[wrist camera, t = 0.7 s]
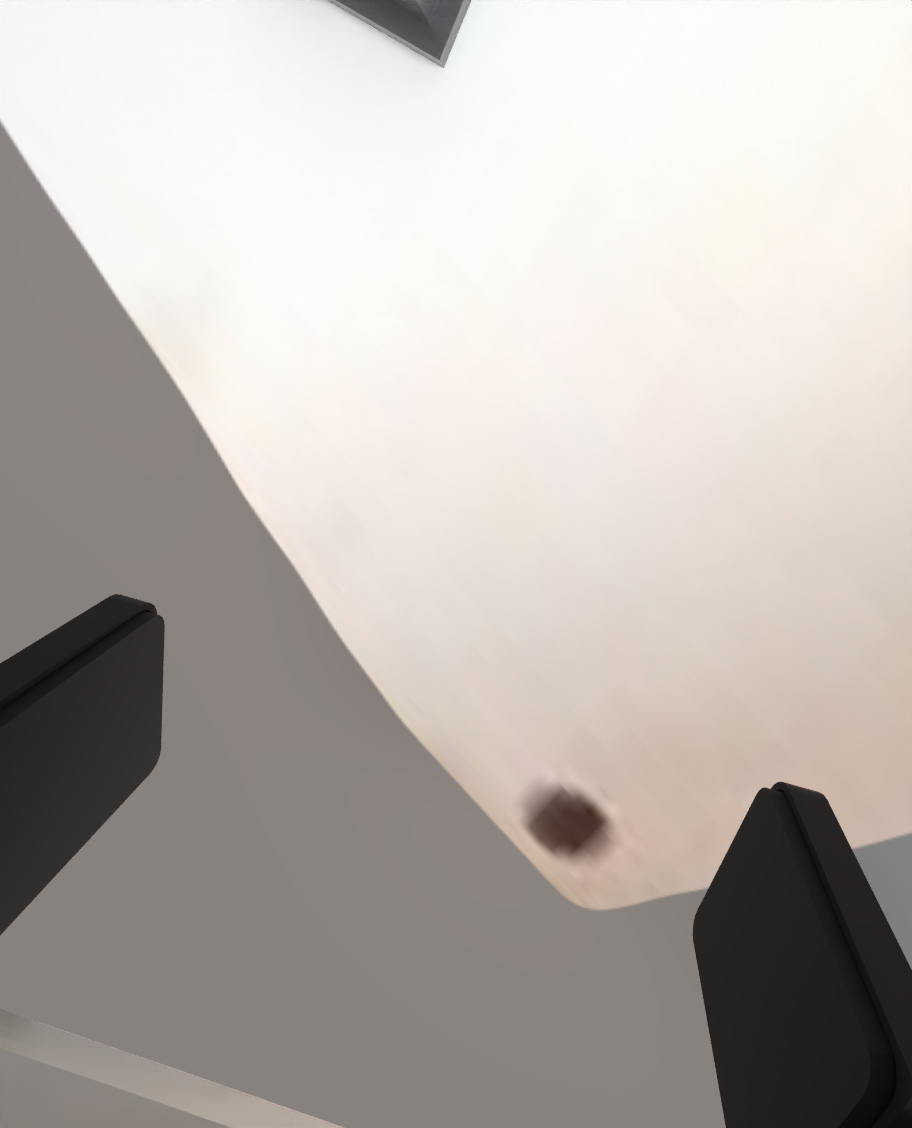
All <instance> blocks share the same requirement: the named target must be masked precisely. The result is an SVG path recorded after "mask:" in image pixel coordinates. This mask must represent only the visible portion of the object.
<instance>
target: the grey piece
mask: <svg viewBox="0 0 912 1128" xmlns="http://www.w3.org/2000/svg"><path fill="white" fill-rule="evenodd" d="M328 1H330V2H332V3H333V4H335V5H337V6H338V7H340V8H342V9H344V10H345V11H347V12H349V13H350V14H352V15H354V16H356V17H357V18H359V19H361V20H363V21H364V22H366V23H368V24H369V25H371V26H373V27H375V28H376V29H378V30H380V31H381V32H383V33H385V34H387V35H388V36H390V37H392V38H393V39H395V40H397V41H399V42H400V43H402V44H404V45H406V46H407V47H409V48H411V49H412V50H414V51H416V52H418V53H419V54H421V55H423V56H424V57H426V58H428V59H430V60H431V61H433V62H435V63H436V64H438V65H440V66H442V67H443V68H444V66H445V63H446V61H447V58H448V56H449V53H450V51H451V48H452V46H453V43H454V41H455V39H456V36H457V34H458V31H459V29H460V26H461V24H462V21H463V19H464V16H465V14H466V11H467V9H468V7H469V4H470V2H471V0H328Z"/></svg>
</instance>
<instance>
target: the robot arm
mask: <svg viewBox="0 0 912 1128" xmlns="http://www.w3.org/2000/svg"><path fill="white" fill-rule="evenodd" d="M163 657H164V620H163V618H162V617H161V616H160V615H157V611H156V608H155V606H154V605H152V604H151V603H148V602H144V601H140V600H137V599H134V598H130V597H126V596H123V595H118V594H115V595H112V596H110V597H108V598H106V599H105V600H103V601H101V602H100V603H98V604H97V605H95V606H93V607H92V608H90V609H88V610H87V611H85V612H84V613H82V614H80V615H79V616H77V617H75V618H74V619H72V620H71V621H69V622H67V623H66V624H64V625H62V626H61V627H59V628H58V629H56V630H54V631H53V632H51V633H49V634H48V635H46V636H45V637H43V638H41V639H39V640H38V641H36V642H35V643H33V644H31V645H30V646H28V647H26V648H25V649H23V650H22V651H20V652H18V653H17V654H15V655H13V656H12V657H10V658H9V659H7V660H5V661H4V662H2V663H0V935H1V934H2V933H3V932H4V931H5V930H6V929H7V927H8V926H9V925H10V924H11V923H12V922H13V921H14V920H15V919H16V918H17V917H18V915H20V913H21V912H22V911H23V910H24V909H25V908H26V907H27V906H28V905H29V904H30V903H31V902H32V900H33V899H34V898H35V897H36V896H37V895H38V894H39V893H40V892H41V891H42V890H43V889H44V887H45V886H46V885H47V884H48V883H49V882H50V881H51V880H52V879H53V878H54V877H55V876H56V874H57V873H58V872H59V871H60V870H61V869H62V868H63V867H64V866H65V865H66V864H67V863H68V862H69V860H70V859H71V858H72V857H73V856H74V855H75V854H76V853H77V852H78V851H79V850H80V849H81V847H82V846H83V845H84V844H85V843H86V842H87V841H88V840H89V839H90V838H91V837H92V835H94V834H95V832H96V831H97V830H98V829H99V828H100V827H101V826H102V825H103V824H104V823H105V822H106V821H107V819H108V818H109V817H110V816H111V815H112V814H113V813H114V812H115V811H116V810H117V809H118V808H119V806H120V805H121V804H122V803H123V802H124V801H125V800H126V799H127V798H128V797H129V796H130V795H131V793H133V791H134V790H135V789H136V788H137V787H138V786H139V785H140V784H141V783H142V782H143V781H144V780H145V778H146V777H147V776H148V775H149V774H150V773H151V772H152V770H153V769H154V767H155V765H156V763H157V761H158V759H159V756H160V751H161V728H162V727H161V726H162V693H163V660H164V659H163ZM693 942H694V947H695V952H696V959H697V964H698V970H699V976H700V982H701V987H702V993H703V999H704V1004H705V1010H706V1016H707V1022H708V1027H709V1033H710V1038H711V1044H712V1050H713V1056H714V1062H715V1067H716V1073H717V1079H718V1084H719V1090H720V1096H721V1102H722V1107H723V1113H724V1119H725V1125H726V1128H912V970H911V968H910V966H909V964H908V962H907V960H906V958H905V956H904V954H903V952H902V950H901V948H900V946H899V944H898V942H897V940H896V938H895V935H894V933H893V932H892V929H891V927H890V925H889V924H888V922H887V919H886V917H885V915H884V913H883V911H882V909H881V907H880V905H879V903H878V902H877V899H876V897H875V895H874V893H873V891H872V890H871V887H870V885H869V883H868V881H867V879H866V877H865V875H864V873H863V871H862V869H861V867H860V865H859V863H858V861H857V859H856V857H855V855H854V853H853V851H852V849H851V847H850V845H849V843H848V841H847V839H846V837H845V835H844V833H843V831H842V829H841V827H840V825H839V823H838V821H837V819H836V817H835V815H834V813H833V811H832V809H831V807H830V804H829V802H828V800H827V799H826V798H825V796H824V795H823V794H821V793H819V792H816V791H813V790H809V789H806V788H802V787H798V786H795V785H791V784H788V783H784V782H777V783H776V784H775V785H773V787H772V788H771V789H768V788H762V789H761V790H759V792H758V793H757V795H756V797H755V799H754V800H753V802H752V804H751V806H750V808H749V810H748V812H747V814H746V816H745V818H744V820H743V822H742V824H741V826H740V828H739V830H738V832H737V834H736V836H735V838H734V840H733V842H732V844H731V846H730V848H729V850H728V851H727V853H726V855H725V857H724V859H723V861H722V863H721V865H720V867H719V869H718V871H717V873H716V875H715V877H714V879H713V881H712V883H711V885H710V887H709V889H708V891H707V893H706V895H705V897H704V899H703V901H702V902H701V905H700V906H699V908H698V911H697V913H696V915H695V919H694V925H693ZM0 1128H343V1127H341V1126H338V1125H335V1124H332V1123H329V1122H326V1121H324V1120H321V1119H318V1118H315V1117H312V1116H309V1115H306V1114H304V1113H301V1112H298V1111H295V1110H292V1109H289V1108H286V1107H283V1106H281V1105H278V1104H274V1103H272V1102H269V1101H266V1100H263V1099H260V1098H258V1097H255V1096H252V1095H249V1094H246V1093H243V1092H240V1091H237V1090H235V1089H232V1088H229V1087H226V1086H223V1085H220V1084H217V1083H214V1082H212V1081H209V1080H206V1079H203V1078H200V1077H197V1076H194V1075H191V1074H188V1073H186V1072H183V1071H180V1070H177V1069H174V1068H171V1067H168V1066H166V1065H163V1064H160V1063H157V1062H154V1061H151V1060H148V1059H145V1058H142V1057H139V1056H136V1055H133V1054H130V1053H127V1052H125V1051H122V1050H119V1049H116V1048H113V1047H110V1046H107V1045H104V1044H101V1043H98V1042H95V1041H93V1040H90V1039H87V1038H84V1037H81V1036H78V1035H75V1034H72V1033H69V1032H66V1031H63V1030H60V1029H57V1028H55V1027H52V1026H48V1025H46V1024H43V1023H40V1022H37V1021H34V1020H31V1019H28V1018H25V1017H22V1016H19V1015H16V1014H13V1013H11V1012H8V1011H5V1010H2V1009H0Z"/></svg>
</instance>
